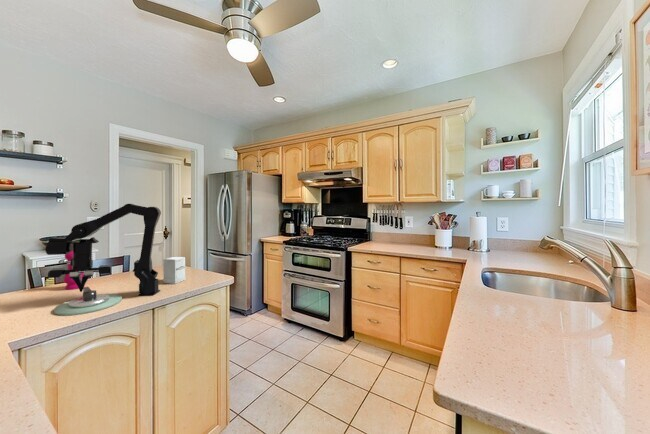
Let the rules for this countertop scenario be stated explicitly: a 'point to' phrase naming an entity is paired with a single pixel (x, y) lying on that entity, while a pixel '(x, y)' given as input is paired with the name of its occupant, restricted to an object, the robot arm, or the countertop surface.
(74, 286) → the pepper mill
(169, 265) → the supplement box
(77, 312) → the dial plate
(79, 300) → the dial
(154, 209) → the robot arm
